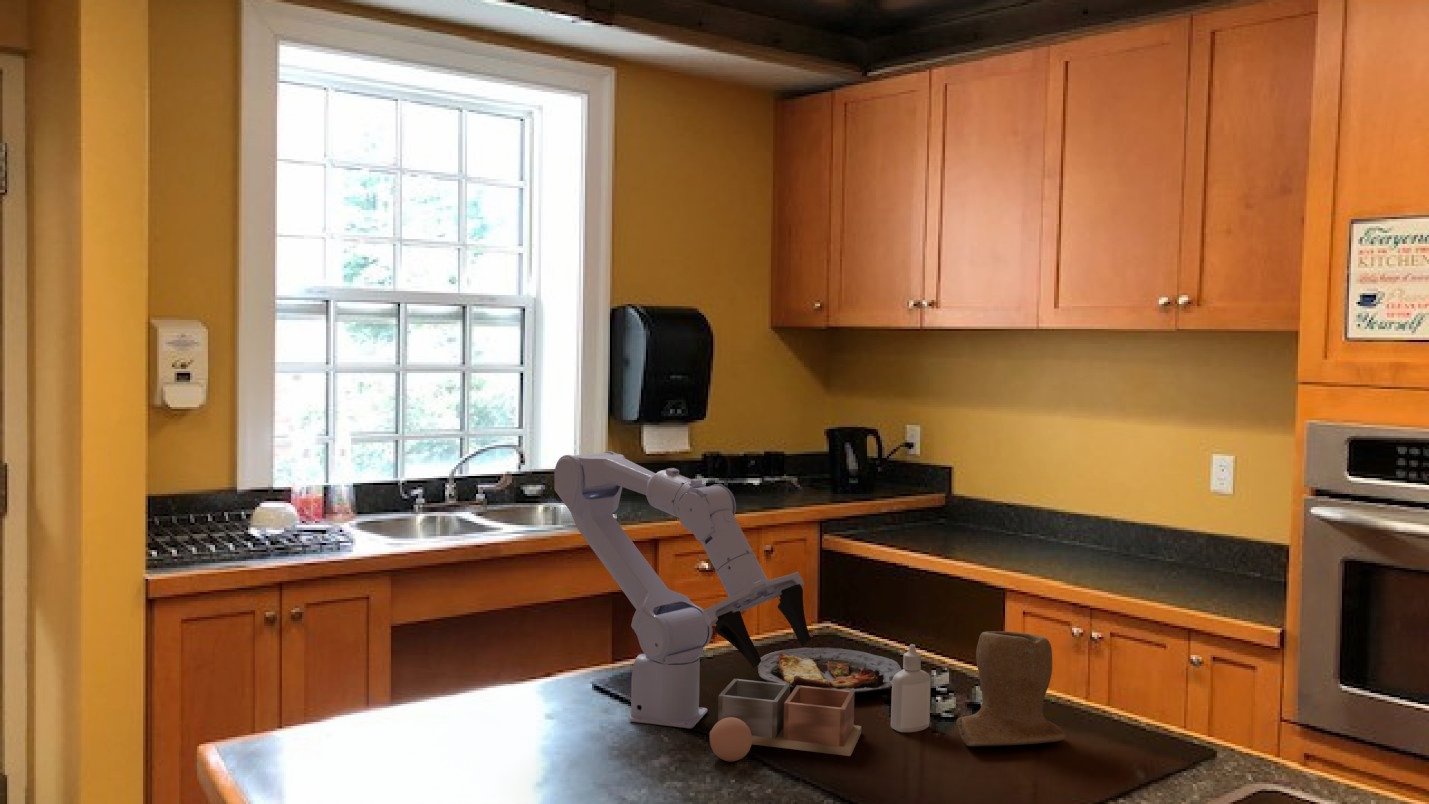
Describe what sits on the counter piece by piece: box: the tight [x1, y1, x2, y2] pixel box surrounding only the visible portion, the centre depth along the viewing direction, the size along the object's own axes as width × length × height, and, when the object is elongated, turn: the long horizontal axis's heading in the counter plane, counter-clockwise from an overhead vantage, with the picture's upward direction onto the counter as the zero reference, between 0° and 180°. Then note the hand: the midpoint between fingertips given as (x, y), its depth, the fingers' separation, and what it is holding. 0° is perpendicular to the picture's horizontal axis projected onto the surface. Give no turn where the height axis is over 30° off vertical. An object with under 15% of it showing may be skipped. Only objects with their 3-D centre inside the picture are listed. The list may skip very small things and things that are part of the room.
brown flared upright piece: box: [955, 630, 1066, 747], centre depth 159 cm, size 15×12×15 cm
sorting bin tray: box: [709, 678, 862, 757], centre depth 159 cm, size 19×9×6 cm, turn 74°
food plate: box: [757, 646, 903, 694], centre depth 185 cm, size 25×23×4 cm
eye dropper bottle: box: [890, 643, 931, 733], centre depth 163 cm, size 4×6×12 cm
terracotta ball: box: [709, 717, 753, 762], centre depth 150 cm, size 6×6×6 cm
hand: (782, 653), depth 151 cm, fingers open, 7 cm apart
